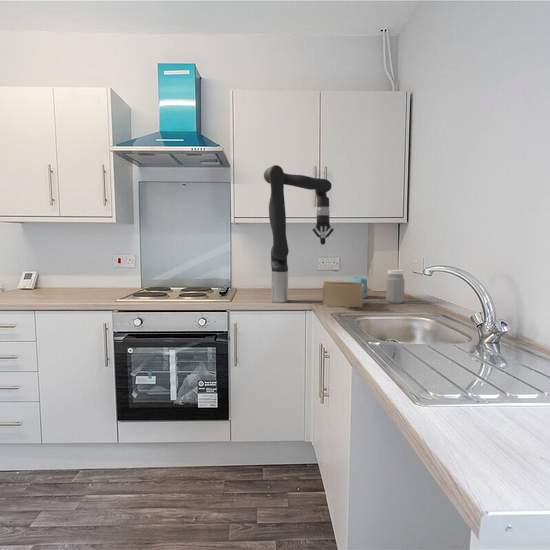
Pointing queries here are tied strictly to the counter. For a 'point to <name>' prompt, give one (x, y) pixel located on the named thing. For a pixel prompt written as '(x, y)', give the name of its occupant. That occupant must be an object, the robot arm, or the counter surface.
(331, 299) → the carton
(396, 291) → the jar
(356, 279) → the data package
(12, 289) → the counter surface
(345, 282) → the flap
